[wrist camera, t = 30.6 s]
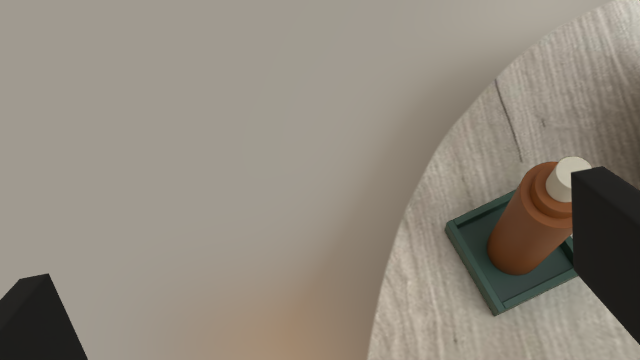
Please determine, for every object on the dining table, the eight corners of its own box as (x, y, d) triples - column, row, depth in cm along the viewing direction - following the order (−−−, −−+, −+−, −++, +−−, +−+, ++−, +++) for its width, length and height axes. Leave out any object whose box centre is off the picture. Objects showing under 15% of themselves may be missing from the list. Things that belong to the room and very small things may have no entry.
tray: (494, 316, 43) (499, 312, 42) (444, 230, 47) (446, 222, 45) (583, 273, 44) (591, 267, 42) (527, 190, 47) (533, 181, 45)
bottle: (525, 286, 43) (595, 224, 28) (476, 256, 45) (518, 183, 30) (550, 242, 45) (631, 161, 30) (502, 215, 46) (555, 124, 31)
